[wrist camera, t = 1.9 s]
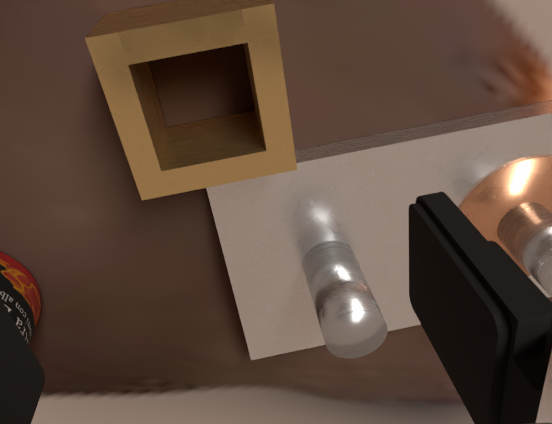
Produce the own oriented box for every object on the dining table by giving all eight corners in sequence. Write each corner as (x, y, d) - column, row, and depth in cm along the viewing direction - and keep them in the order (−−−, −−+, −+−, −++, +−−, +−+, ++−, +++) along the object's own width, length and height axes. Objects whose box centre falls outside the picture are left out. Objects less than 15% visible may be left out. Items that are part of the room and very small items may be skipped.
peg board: (203, 168, 27) (206, 249, 20) (624, 86, 27) (751, 139, 21) (249, 343, 34) (261, 442, 28) (577, 274, 35) (660, 355, 29)
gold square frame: (106, 13, 22) (84, 38, 18) (259, -15, 22) (274, 3, 18) (150, 152, 26) (141, 200, 21) (280, 127, 26) (297, 169, 22)
